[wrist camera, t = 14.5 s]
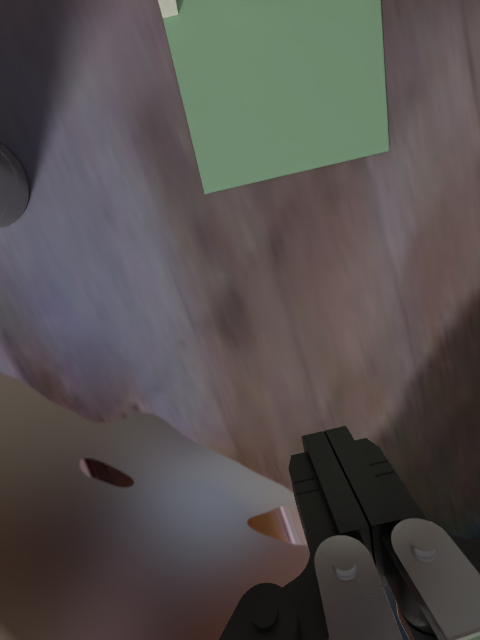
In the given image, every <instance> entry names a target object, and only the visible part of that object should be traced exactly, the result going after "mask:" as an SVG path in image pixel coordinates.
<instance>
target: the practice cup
mask: <svg viewBox="0 0 480 640" xmlns="http://www.w3.org/2000/svg"><path fill="white" fill-rule="evenodd" d="M158 2H159V6H160V10H161V13H162V17H163V21H164V25H165V29H166V33H167V38H168V42H169V46H170V50H171V54H172V59H173V63H174V67H175V71H176V75H177V80H178V84H179V88H180V92H181V96H182V100H183V105H184V109H185V113H186V117H187V121H188V126H189V130H190V134H191V138H192V142H193V147H194V151H195V155H196V159H197V163H198V167H199V172H200V176H201V180H202V184H203V188H204V193H205V194H207V193H211V192H215V191H220V190H224V189H228V188H232V187H237V186H241V185H245V184H250V183H254V182H258V181H262V180H267V179H271V178H275V177H280V176H284V175H288V174H292V173H297V172H301V171H305V170H310V169H314V168H318V167H322V166H327V165H331V164H335V163H340V162H344V161H348V160H352V159H357V158H361V157H365V156H370V155H374V154H378V153H382V152H387V151H389V137H388V120H387V102H386V84H385V67H384V49H383V31H382V14H381V0H158Z"/></svg>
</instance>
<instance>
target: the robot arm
mask: <svg viewBox="0 0 480 640" xmlns="http://www.w3.org/2000/svg"><path fill="white" fill-rule="evenodd" d="M28 197H29V187H28V181H27V178H26V174H25V172H24V170H23V168H22V166H21V164H20V163H19V161H18V160H17V159H16V157H15V156H14V155H13V154H12V153H11V152H10V151H9V150H8V149H7V148H6V147H4V146H3V145H1V144H0V227H4V226H7V225H9V224H12V223H14V222H15V221H16V220H17V219H18V218H20V216H21V215H22V214H23V212H24V211H25V209H26V206H27V203H28ZM302 442H303V447H304V453H300V454H296V455H291V460H290V464H289V473H290V478H291V483H292V487H293V492H294V497H295V501H296V505H297V509H298V512H299V516H300V520H301V523H302V527H303V530H304V534H305V538H306V541H307V545H308V548H309V552H310V558H309V562H308V564H307V566H306V568H305V569H304V571H303V572H302V573H301V574H300V575H299V576H298V577H297V578H295V579H294V580H293V581H291V582H290V583H288V584H287V585H285V586H284V587H280V586H278V585H276V584H272V583H262V584H258V585H255V586H254V587H252V588H250V589H249V590H248V591H247V592H246V593H245V594H244V595H243V596H242V598H241V600H240V601H239V603H238V605H237V607H236V609H235V610H234V612H233V614H232V616H231V618H230V620H229V622H228V624H227V626H226V628H225V629H224V631H223V633H222V635H221V637H220V639H219V640H402V637H401V634H400V632H399V629H398V626H397V624H396V621H395V618H394V615H393V613H392V610H391V607H390V604H389V602H388V599H387V596H386V593H385V591H384V588H383V587H384V586H389V587H390V589H391V591H392V593H393V596H394V598H395V600H396V603H397V613H398V617H399V619H400V622H401V624H402V625H403V628H404V630H405V632H406V634H407V636H408V637H409V639H410V640H480V540H477V539H467V538H461V537H457V536H453V535H451V534H448V533H446V532H445V531H444V530H443V529H442V528H440V527H439V526H437V525H436V524H434V523H432V522H430V521H429V520H428V519H427V517H426V516H425V515H424V513H423V512H422V511H421V509H420V508H419V506H418V505H417V503H416V502H415V500H414V499H413V497H412V496H411V494H410V493H409V491H408V490H407V488H406V487H405V485H404V484H403V482H402V481H401V479H400V478H399V476H398V475H397V474H396V473H395V470H394V469H393V467H392V466H391V464H390V463H389V462H388V460H387V458H386V457H385V455H384V454H383V452H382V451H381V449H380V448H379V447H378V446H377V445H375V444H374V443H372V442H371V441H369V440H368V439H367V438H364V439H360V440H354V439H353V437H352V435H351V434H350V432H349V430H348V429H347V427H346V426H343V427H338V428H334V429H330V430H326V431H324V432H323V431H322V432H317V433H313V434H309V435H304V436H302Z"/></svg>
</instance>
